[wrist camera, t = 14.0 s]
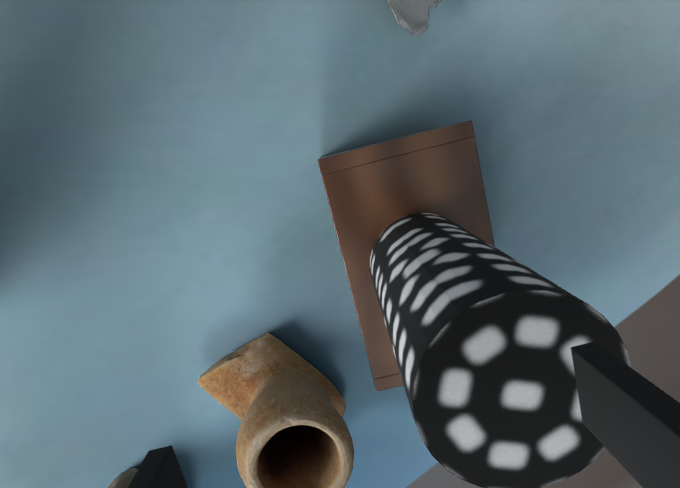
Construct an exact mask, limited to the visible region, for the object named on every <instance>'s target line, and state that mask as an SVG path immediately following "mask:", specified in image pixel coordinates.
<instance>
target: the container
mask: <svg viewBox="0 0 680 488" xmlns="http://www.w3.org/2000/svg"><path fill="white" fill-rule="evenodd" d="M137 471H138V469H135V468H130V469H128V470H127V471H125V472H123V473H121V474H120V475H119V476H118V477H117V478H116V479H115V480H114V481H113V482H112V484H111V485H110V486H109V487H108V488H128V486H129V484H130V483H131V481H132V479H133V478H134V476H135V474H136V472H137Z"/></svg>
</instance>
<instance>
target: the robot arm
mask: <svg viewBox="0 0 680 488" xmlns="http://www.w3.org/2000/svg"><path fill="white" fill-rule="evenodd" d="M571 353H572V359H573V366H574V372H575V378H576V385H577V391H578V397H579V404H580V410H581V416H582V423H583V424H584V425H585V426H586V427H587V428H588V429H589V430H590V431H591V433H592V434H593V435H594V436H595V437H596V438H597V439H598V440H599V441H600V442H601V443H602V444H603V445H604V446H605V448H606V449H607V450H608V451H609V452H610V453H611V454H612V455H613V456H614V457H615V458H616V459H617V460H618V461H619V463H620V464H621V465H622V466H623V467H624V468H625V469H626V470H627V471H628V472H629V473H630V474H631V475H632V476H633V478H634V479H636V481H637V482H638V483H639V484H640V485H641V486H642V487H643V488H680V403H679V402H677V401H676V400H674V399H673V398H672V397H670V396H669V395H668V394H666V393H665V392H664V391H662V390H661V389H660V388H658V387H657V386H655V385H654V384H653V383H651V382H650V381H648V380H647V379H646V378H644V377H643V376H641V375H640V374H639V373H637V372H636V371H635V370H633V369H632V368H630V367H629V366H628V365H626V364H625V363H624V362H622V361H621V360H619V359H618V358H617V357H615V356H614V355H612V354H611V353H610V352H608V351H607V350H606V349H604V348H603V347H601V346H600V345H599V344H597V343H596V342H590V343H586V344H582V345H578V346H574V347H571ZM128 488H187V485H186V482H185V480H184V477H183V474H182V471H181V469H180V466H179V463H178V461H177V458H176V455H175V453H174V450H173V447H172V445H171V446H167V447H163V448H159V449H155V450H151V451H149V452H148V454H147V455H146V457H145V459H144V460H143V462H142V464H141V466H140V467H139V469H138V471H137V472H136V474H135V476H134V478H133V479H132V481H131V483H130V484H129V486H128Z"/></svg>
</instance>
